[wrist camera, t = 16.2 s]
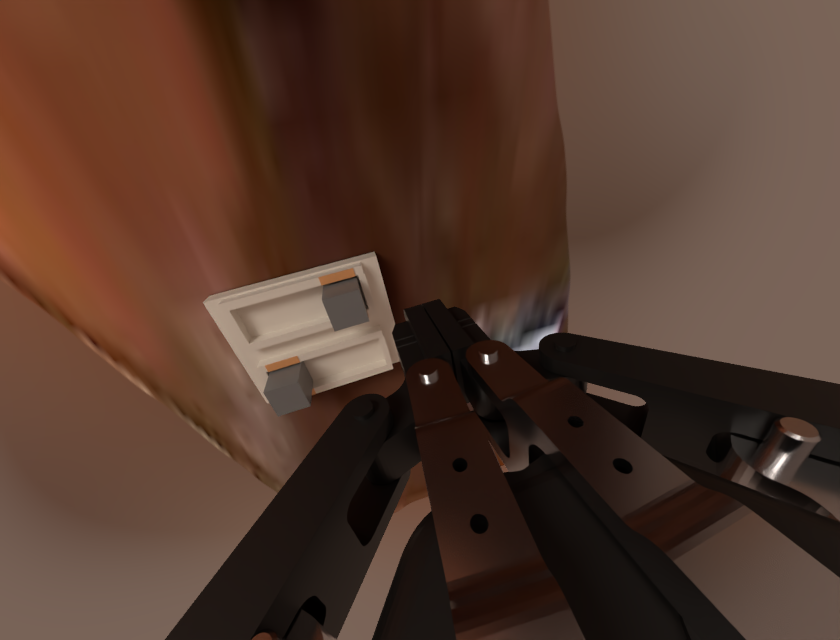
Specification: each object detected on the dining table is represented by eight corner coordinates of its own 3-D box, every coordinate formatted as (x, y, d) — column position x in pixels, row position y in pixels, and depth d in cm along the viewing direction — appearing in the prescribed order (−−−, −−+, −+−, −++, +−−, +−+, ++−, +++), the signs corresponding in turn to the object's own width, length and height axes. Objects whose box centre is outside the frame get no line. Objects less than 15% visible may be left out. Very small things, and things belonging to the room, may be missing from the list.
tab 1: (271, 367, 39) (263, 392, 34) (301, 358, 39) (297, 382, 35) (284, 389, 41) (278, 416, 36) (313, 380, 41) (310, 405, 37)
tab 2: (323, 283, 35) (321, 300, 31) (356, 274, 36) (358, 289, 31) (334, 312, 37) (334, 331, 33) (365, 303, 38) (369, 321, 33)
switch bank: (209, 295, 35) (197, 308, 32) (374, 251, 37) (377, 259, 34) (270, 393, 43) (264, 411, 40) (402, 352, 45) (407, 365, 42)
